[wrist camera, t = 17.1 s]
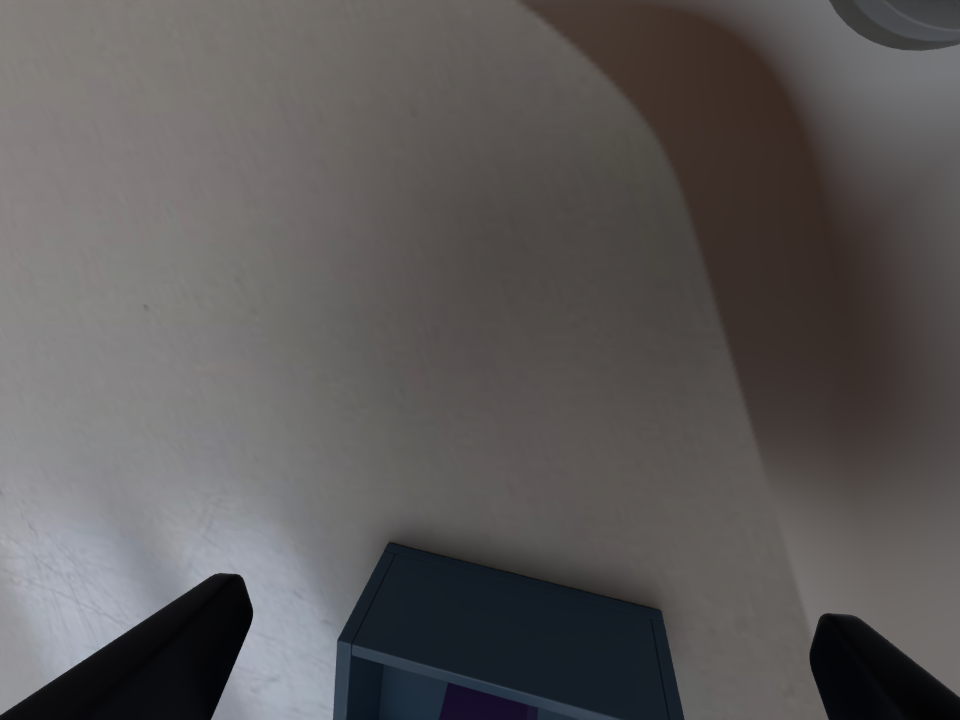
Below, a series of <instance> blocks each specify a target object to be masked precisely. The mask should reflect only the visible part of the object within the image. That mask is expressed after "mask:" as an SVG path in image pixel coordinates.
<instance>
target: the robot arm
mask: <svg viewBox="0 0 960 720" xmlns="http://www.w3.org/2000/svg"><path fill="white" fill-rule="evenodd" d="M252 618H253V608H252V604H251V601H250V598H249V595H248V592H247V588H246V585H245V582H244V580H243V578H242V577H241V576H240V575H238V574H226V573H218V574H215V575H213V576H211V577H209V578H208V579H206V580H205V581H203V582H202V583H200V584H199V585H197V586H196V587H194V588H193V589H191V590H190V591H188V592H187V593H185V594H184V595H182V596H180V597H179V598H177V599H176V600H174V601H173V602H171V603H170V604H168V605H167V606H165V607H164V608H162V609H161V610H159V611H158V612H156V613H155V614H153V615H152V616H150V617H149V618H147V619H146V620H144V621H143V622H141V623H140V624H138V625H137V626H135V627H134V628H132V629H130V630H129V631H127V632H126V633H124V634H123V635H121V636H120V637H118V638H117V639H115V640H114V641H112V642H111V643H109V644H108V645H106V646H105V647H103V648H102V649H100V650H99V651H97V652H96V653H94V654H93V655H91V656H90V657H88V658H87V659H85V660H83V661H82V662H80V663H79V664H77V665H76V666H74V667H73V668H71V669H70V670H68V671H67V672H65V673H64V674H62V675H61V676H59V677H58V678H56V679H55V680H53V681H52V682H50V683H49V684H47V685H46V686H44V687H43V688H41V689H40V690H38V691H37V692H35V693H33V694H32V695H30V696H29V697H27V698H26V699H24V700H23V701H21V702H20V703H18V704H17V705H15V706H14V707H12V708H11V709H9V710H8V711H6V712H5V713H3V714H2V715H0V720H211V718H212V716H213V714H214V711H215V709H216V707H217V705H218V702H219V700H220V697H221V695H222V693H223V690H224V688H225V685H226V683H227V681H228V678H229V676H230V673H231V671H232V669H233V666H234V664H235V661H236V659H237V657H238V654H239V652H240V650H241V647H242V645H243V642H244V640H245V638H246V635H247V633H248V630H249V628H250V625H251V622H252ZM810 665H811V670H812V673H813V676H814V679H815V681H816V684H817V687H818V690H819V693H820V696H821V699H822V702H823V704H824V707H825V710H826V713H827V716H828V719H829V720H960V697H959V696H957V695H956V694H955V693H954V692H952V691H951V690H950V689H948V688H947V687H946V686H945V685H943V684H942V683H941V682H940V681H938V680H937V679H936V678H935V677H933V676H932V675H931V674H930V673H928V672H927V671H926V670H924V669H923V668H922V667H921V666H919V665H918V664H917V663H916V662H914V661H913V660H912V659H911V658H909V657H908V656H907V655H905V654H904V653H903V652H902V651H900V650H899V649H898V648H897V647H895V646H894V645H893V644H892V643H890V642H889V641H888V640H886V639H885V638H884V637H883V636H881V635H880V634H879V633H878V632H876V631H875V630H874V629H873V628H871V627H870V626H869V625H868V624H866V623H865V622H864V621H862V620H861V619H859V618H858V617H856V616H853V615H846V614H831V613H826V614H823V615H822V616H821V617H820V619H819V621H818V625H817V628H816V631H815V635H814V638H813V642H812V645H811V649H810Z"/></svg>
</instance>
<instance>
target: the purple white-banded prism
mask: <svg viewBox="0 0 960 720" xmlns="http://www.w3.org/2000/svg"><path fill="white" fill-rule="evenodd" d="M537 717H538V707H534V706H531V705H527V704H524V703H520V702H516V701H513V700H509V699H506V698H502V697H499V696H495V695H492V694H488V693H484V692H481V691H477V690H474V689H470V688H467V687H463V686H460V685H456V684H452V683H449V682H448V685H447V689H446V693H445V697H444V701H443V705H442V709H441V713H440V717H439V720H537Z"/></svg>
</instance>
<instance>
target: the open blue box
mask: <svg viewBox="0 0 960 720" xmlns="http://www.w3.org/2000/svg"><path fill="white" fill-rule="evenodd" d="M448 682H449V683H452V684H456V685H460V686H463V687H467V688H470V689H474V690H477V691H481V692H484V693H488V694H492V695H495V696H499V697H502V698H506V699H509V700H513V701H516V702H520V703H524V704H527V705H531V706H534V707H538V717H537V720H684V715H683V710H682V706H681V701H680V696H679V692H678V687H677V682H676V677H675V673H674V668H673V663H672V659H671V654H670V649H669V644H668V640H667V635H666V630H665V626H664V621H663V616H662V612H661V611H659V610H655V609H651V608H647V607H643V606H639V605H635V604H631V603H627V602H623V601H619V600H615V599H611V598H607V597H603V596H599V595H595V594H591V593H587V592H583V591H579V590H575V589H571V588H567V587H563V586H559V585H555V584H551V583H547V582H543V581H539V580H535V579H531V578H527V577H523V576H519V575H515V574H511V573H507V572H503V571H499V570H495V569H491V568H487V567H483V566H479V565H475V564H471V563H467V562H463V561H459V560H455V559H451V558H447V557H443V556H439V555H435V554H431V553H427V552H423V551H419V550H415V549H411V548H407V547H403V546H399V545H395V544H391V543H388V544H387V546H386V548H385V550H384V552H383V554H382V556H381V558H380V560H379V562H378V564H377V565H376V567H375V569H374V571H373V573H372V575H371V577H370V579H369V581H368V583H367V585H366V587H365V588H364V590H363V592H362V594H361V596H360V598H359V600H358V602H357V604H356V606H355V608H354V610H353V611H352V613H351V615H350V617H349V619H348V621H347V623H346V625H345V627H344V629H343V631H342V633H341V634H340V636H339V638H338V640H337V658H336V677H335V695H334V713H333V720H439V717H440V713H441V709H442V705H443V701H444V697H445V693H446V689H447V685H448Z"/></svg>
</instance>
